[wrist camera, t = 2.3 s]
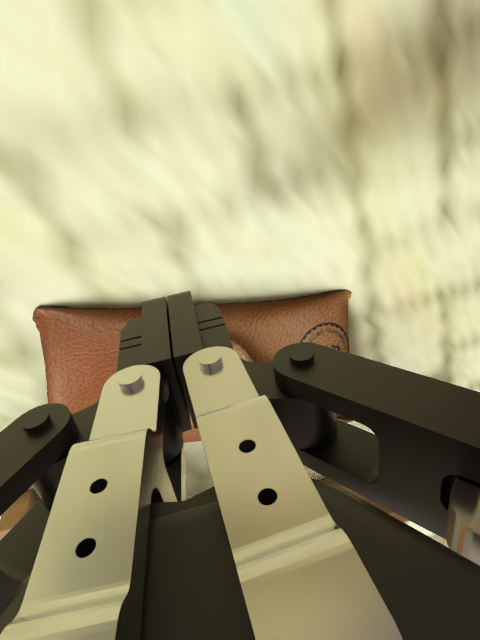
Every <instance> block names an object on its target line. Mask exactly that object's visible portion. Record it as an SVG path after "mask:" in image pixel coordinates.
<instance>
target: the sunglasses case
mask: <svg viewBox="0 0 480 640" xmlns="http://www.w3.org/2000/svg"><path fill="white" fill-rule="evenodd" d="M350 297H351V292H350V291H349V290H337V291H329V292H324V293H320V294H314V295H309V296H304V297H298V298H290V299H279V300H269V301H261V302H246V303H231V304H215V305H216V306H217V307H219V308H220V311H221V314H222V317H223V320H224V323H225V326H226V329H227V332H228V335H229V337H230V340H231V343H232V346H233V349H234V351H235V352H236V353H237V354H238V356H239V357H240V358H241V359H243V360H246V361H249V362H254V363H272V361H273V357H274V355H275V354H276V353H277V352H278V351H279V350H280V349H282V348H283V347H285V346H288V345H291V344H294V343H302V342H309V343H316V344H319V345H323V346H326V347H329V348H333V349H336V350H339V351H343V352H346V353H349V339H348V320H347V319H348V299H350ZM194 306H195V305H194ZM140 318H142V308H127V309H88V308H84V309H78V308H69V307H64V306H47V307H37V308H36V309H35V311H34V313H33V321H34V322H35V323H36V327H37V329H38V331H39V332H40V337H41V344H42V349H43V355H44V360H45V367H46V369H45V372H46V380H47V391H48V392H47V396H48V404H51V403H59V404H63V405H65V406H67V407H68V408H69V410H70V412H71V414H74V413H76V412H79V411H81V410H83V409H85V408H87V407H89V406H91V405H93V404H95V403H97V402H98V401H100V397H101V393H102V389H103V386H104V384H105V383H106V381H107V380H108V379H109V378H110V377H111V376H112V375H114V374H115V373H117V364H118V354H119V351H120V350H119V345H120V335H121V330H122V329H123V328H124V327H125V325H126V324H127V323H128V321H131V320H136V319H140ZM190 419H191V415H190ZM336 419H338V420H341V421H343V422H351V421H353V420H351V419H349V418H346V417H344V416H341V415H339V414H337V413H336ZM191 426H192V430H188V431H185V432H183V443H184V442H193V441H202V439H201V435H200V432H199V428H196V429H194V426H193V422H192V419H191Z"/></svg>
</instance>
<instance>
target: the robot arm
mask: <svg viewBox="0 0 480 640" xmlns="http://www.w3.org/2000/svg"><path fill="white" fill-rule="evenodd" d="M167 299H168V302H167ZM167 299H166V297H162V298H158V299H153V300H149V301H145V302H142V318H140V319H136V320H131V321H128V323H127V324H126V325H125V327H124V328H123V329H122V330H121V335H120V345H119V350H120V351H119V354H118V364H117V373H115V374H114V375H112V376H111V377H110V378H109V379H108V380H107V381H106V383H105V384H104V386H103V389H102V393H101V397H100V401H98V402H97V403H95V404H93V405H91V406H89V407H87V408H85V409H83V410H81V411H79V412H76V413H74V414H71V412H70V410H69V408H68V407H67V406H65V405H63V404H59V403H51V404H45V405H41V406H38V407H36V408H33V409H31V410H29V411H28V412H26V413H24V414H23V415H21V416H20V417H19V418H17V419H16V420H15V421H14V422H12V423H11V424H10V425H9V426H8V427H6V428H5V429H4V430H3V431H1V432H0V516H1V515H2V514H3V513H4V512H5V511H6V510H7V509H8V508H9V507H10V506H11V505H12V504H13V503H14V502H15V501H16V500H17V499H18V498H19V497H20V496H21V495H22V494H23V493H24V492H26V491H27V490H28V489H29V488H30V487H31V486H32V485H33V487H34V489H35V490H36V492H37V494H38V495H39V497H40V498H41V499H40V500H39V501H38V502H37V503H36V504H35V505H34V506H33V507H32V508H31V509H30V510H29V511H28V512H27V513H26V514H25V515H24V516H23V518H22V519H21V520H20V521H19V522H18V523H17V524H16V525H15V526H14V527H13V528H12V529H11V530H10V531H9V532H8V533H7V534H6V535H5V536H4V537H3V538H2V539H1V540H0V640H480V392H477V391H473V390H470V389H467V388H463V387H460V386H457V385H453V384H450V383H447V382H443V381H440V380H436V379H433V378H430V377H426V376H423V375H420V374H416V373H413V372H410V371H406V370H403V369H400V368H396V367H393V366H390V365H386V364H383V363H380V362H376V361H373V360H370V359H366V358H363V357H360V356H356V355H353V354H350V353H346V352H343V351H339V350H336V349H333V348H329V347H326V346H323V345H319V344H316V343H309V342H302V343H294V344H291V345H288V346H285V347H283V348H282V349H280V350H279V351H278V352H277V353H276V354H275V355H274V357H273V361H272V363H254V362H249V361H246V360H243V359H241V358H240V357H239V356H238V354H237V353H236V352H235V351H234V349H233V346H232V343H231V340H230V337H229V335H228V332H227V329H226V326H225V323H224V320H223V317H222V314H221V311H220V308H219V307H217V306H216V305H214V304H213V303H211V302H208V303H204V304H199V305H195V306H194V305H193V301H192V297H191V292H190V291H188V292H183V293H179V294H175V295H170V296H167ZM336 413H337V414H339V415H341V416H344V417H346V418H349V419H351V420H354V421H356V422H359V423H361V424H363V425H365V426H367V427H368V428H370V429H371V430H372V431H373V432H374V433H375V435H374V434H372V433H370V432H367V431H365V430H362V429H360V428H357V427H355V426H353V425H350V424H348V423H345V422H343V421H341V420H338V419H336ZM190 415H191V419H192V422H193V426H194V429H196V428H199V432H200V435H201V439H202V443H203V446H204V450H205V454H206V458H207V461H208V465H209V469H210V472H211V476H212V480H213V483H214V487H212V488H210V489H208V490H206V491H204V492H202V493H200V494H198V495H196V496H195V497H193V498H191V499H188V500H186V455H185V451H184V448H183V432H185V431H188V430H192V426H191V419H190ZM304 466H306V467H308V468H310V469H312V470H314V471H316V472H317V473H319V474H321V475H323V476H325V477H327V478H329V479H331V480H333V481H335V482H337V483H339V484H341V485H342V486H344V487H346V488H348V489H350V490H352V491H354V492H356V493H358V494H360V495H362V496H364V497H366V498H367V499H369V500H371V501H373V502H375V503H377V504H379V505H381V506H383V507H385V508H387V509H389V510H391V511H392V512H394V513H396V514H398V515H400V516H402V517H404V518H406V519H408V520H410V521H412V522H414V523H416V524H417V525H419V526H421V527H423V528H425V529H427V530H429V531H431V532H433V533H435V534H437V535H439V536H441V537H442V538H444V539H446V541H447V544H448V546H449V548H448V547H446V546H444V545H442V544H441V543H439V542H437V541H435V540H433V539H432V538H430V537H428V536H426V535H425V534H423V533H421V532H419V531H418V530H416V529H414V528H412V527H410V526H409V525H407V524H405V523H403V522H402V521H400V520H398V519H396V518H395V517H393V516H391V515H389V514H388V513H386V512H384V511H382V510H380V509H379V508H377V507H375V506H373V505H372V504H370V503H368V502H366V501H365V500H363V499H361V498H359V497H357V496H356V495H354V494H352V493H350V492H349V491H347V490H345V489H343V488H340V487H338V486H336V485H333V484H330V483H327V482H324V481H320V480H315V479H311V478H310V477H309V475H308V473H307V471H306V469H305V467H304Z"/></svg>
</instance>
